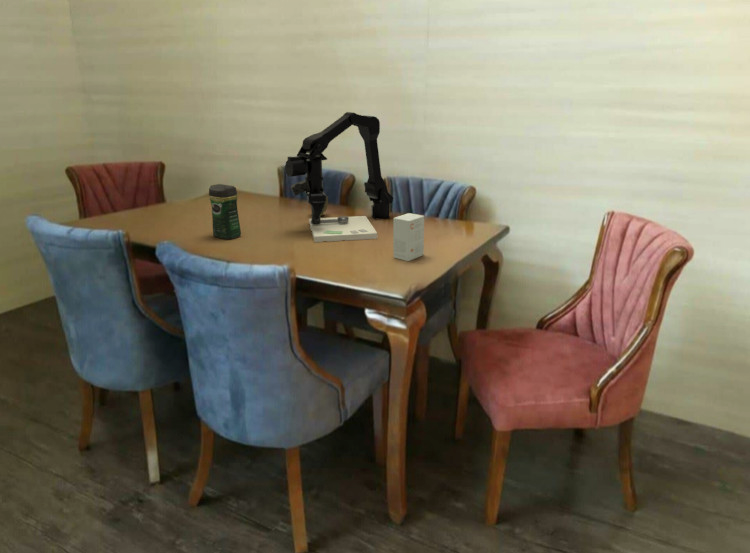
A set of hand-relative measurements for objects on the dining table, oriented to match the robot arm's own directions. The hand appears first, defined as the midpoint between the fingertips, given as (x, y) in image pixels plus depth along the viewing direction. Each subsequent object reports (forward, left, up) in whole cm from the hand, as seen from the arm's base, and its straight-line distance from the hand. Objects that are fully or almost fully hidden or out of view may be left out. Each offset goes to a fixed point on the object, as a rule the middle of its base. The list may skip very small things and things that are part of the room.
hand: (316, 216), depth 210 cm
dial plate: (-9, +3, -5) cm, 11 cm away
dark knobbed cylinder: (-5, 0, -3) cm, 6 cm away
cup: (-3, -21, -6) cm, 22 cm away
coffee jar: (+32, +2, -6) cm, 33 cm away
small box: (-26, +37, -6) cm, 46 cm away
